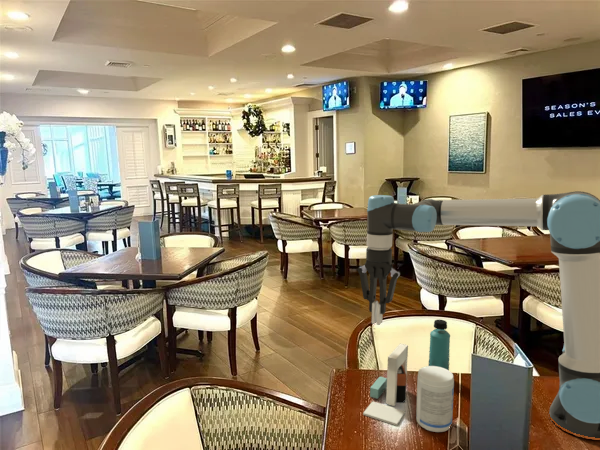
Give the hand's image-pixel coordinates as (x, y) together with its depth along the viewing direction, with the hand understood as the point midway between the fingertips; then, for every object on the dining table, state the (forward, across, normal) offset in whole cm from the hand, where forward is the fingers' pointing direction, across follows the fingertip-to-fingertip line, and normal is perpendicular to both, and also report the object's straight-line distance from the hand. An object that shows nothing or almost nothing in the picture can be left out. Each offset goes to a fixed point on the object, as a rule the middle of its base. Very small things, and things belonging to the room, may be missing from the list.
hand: (376, 322), depth 136 cm
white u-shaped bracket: (+22, -7, 0) cm, 23 cm away
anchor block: (+22, -1, 0) cm, 22 cm away
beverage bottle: (+23, -15, -18) cm, 33 cm away
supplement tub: (+23, -20, +8) cm, 31 cm away
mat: (+22, -7, +10) cm, 26 cm away
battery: (+23, -7, 0) cm, 24 cm away
